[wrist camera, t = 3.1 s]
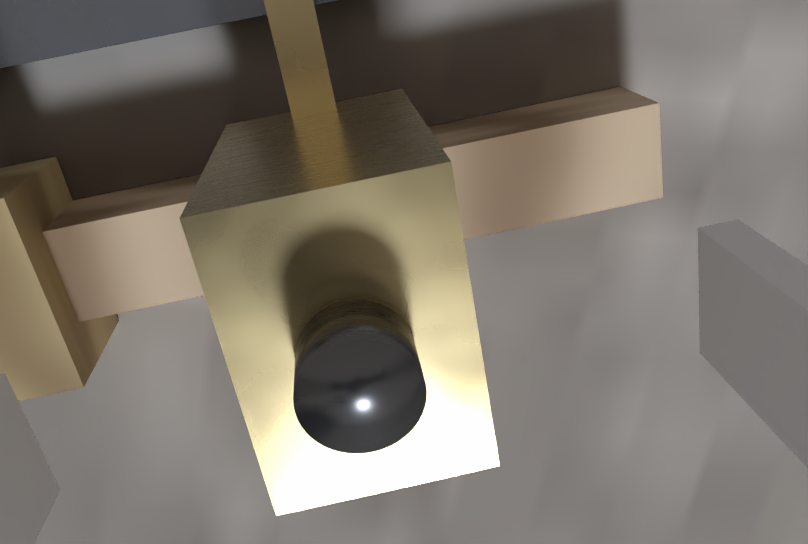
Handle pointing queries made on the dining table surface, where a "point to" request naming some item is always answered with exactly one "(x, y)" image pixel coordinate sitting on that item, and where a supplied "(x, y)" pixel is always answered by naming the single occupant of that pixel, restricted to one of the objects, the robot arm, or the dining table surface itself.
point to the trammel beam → (164, 202)
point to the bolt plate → (105, 23)
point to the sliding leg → (341, 287)
